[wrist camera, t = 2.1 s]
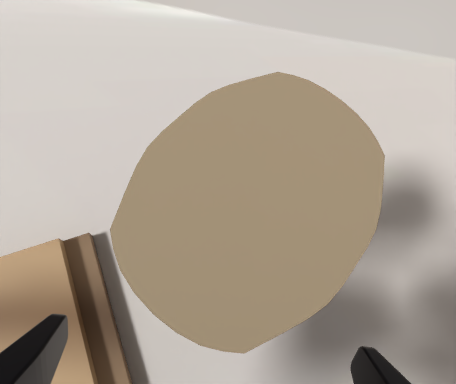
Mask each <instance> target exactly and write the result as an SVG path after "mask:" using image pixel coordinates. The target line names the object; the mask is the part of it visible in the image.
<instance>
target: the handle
mask: <svg viewBox="0 0 456 384" xmlns="http://www.w3.org/2000/svg"><path fill="white" fill-rule="evenodd" d="M384 159H385V155H384V153H383V151H382V149H381V147H380V145H379V143H378V141H377V139H376V138H375V136H374V134H373V133H372V131H371V130H370V128H369V127H368V126H367V125H366V123H365V122H364V121H363V120H362V119H361V118H360V117H359V116H358V114H357V113H355V112H354V111H353V110H352V109H351V108H350V107H349V106H347V105H346V104H345V103H344V102H343V101H342V100H340V99H339V98H338V97H336V96H335V95H333V94H332V93H330V92H329V91H327V90H326V89H324V88H322V87H320V86H319V85H317V84H315V83H313V82H311V81H309V80H306V79H303V78H300V77H297V76H294V75H290V74H285V73H280V72H276V73H272V74H268V75H264V76H260V77H256V78H252V79H248V80H245V81H241V82H238V83H234V84H231V85H228V86H225V87H223V88H220V89H218V90H215V91H213V92H211V93H209V94H208V95H206V96H205V97H203V98H202V99H200V100H199V101H197V102H196V103H195V104H193V105H192V106H191V107H190V108H189V109H188V110H186V111H185V112H184V113H183V114H182V115H181V116H179V117H178V118H177V119H176V120H175V121H174V122H172V123H171V124H170V125H169V126H168V127H167V128H165V129H164V130H163V131H162V132H161V133H160V134H159V135H158V136H157V137H156V139H155V140H154V141H153V142H152V143H151V144H150V145H149V146H148V147H147V149H146V150H145V152H144V154H143V156H142V157H141V159H140V161H139V162H138V164H137V166H136V168H135V170H134V172H133V175H132V177H131V179H130V182H129V184H128V186H127V189H126V191H125V193H124V196H123V198H122V201H121V203H120V206H119V208H118V211H117V213H116V216H115V218H114V221H113V223H112V226H111V228H110V232H111V238H112V244H113V250H114V253H115V256H116V259H117V262H118V265H119V268H120V271H121V272H122V274H123V276H124V277H125V279H126V280H127V282H128V284H129V285H130V287H131V289H132V290H133V292H134V293H135V294H136V295H137V297H138V298H139V299H140V300H141V301H142V302H143V303H144V304H145V306H146V307H147V308H148V309H149V310H150V311H151V312H152V313H153V314H154V315H155V316H156V317H157V318H159V319H160V320H161V321H162V322H164V323H165V324H166V325H167V326H169V327H170V328H171V329H172V330H174V331H175V332H176V333H178V334H180V335H182V336H184V337H185V338H187V339H189V340H191V341H193V342H195V343H197V344H198V345H200V346H204V347H208V348H212V349H216V350H220V351H225V352H234V353H246V352H248V351H250V350H252V349H254V348H255V347H257V346H259V345H261V344H263V343H265V342H267V341H269V340H271V339H273V338H275V337H276V336H278V335H280V334H282V333H284V332H286V331H287V330H289V329H291V328H293V327H295V326H296V325H298V324H300V323H302V322H303V321H305V320H307V319H309V318H310V317H311V316H313V315H314V314H315V313H317V312H318V311H319V310H321V309H322V308H323V307H325V306H326V305H327V304H328V303H329V302H330V301H331V300H332V298H333V297H334V296H335V295H336V293H337V292H338V291H339V290H340V289H341V287H342V286H343V285H344V283H345V282H346V280H347V279H348V277H349V275H350V274H351V272H352V271H353V269H354V268H355V266H356V264H357V263H358V261H359V260H360V258H361V257H362V255H363V253H364V252H365V250H366V249H367V247H368V245H369V243H370V241H371V239H372V237H373V235H374V233H375V231H376V228H377V224H378V220H379V215H380V210H381V202H382V191H383V177H384Z"/></svg>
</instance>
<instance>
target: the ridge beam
mask: <svg viewBox="0 0 456 384" xmlns="http://www.w3.org/2000/svg"><path fill="white" fill-rule="evenodd" d="M51 314H64V315H66V316H67V318H68V339H67V343H66V346H65V348H64V351H63V353H62V356H61V359H60V361H59V364H58V366H57V369H56V372H55V374H54V377H53V379H52V382H51V384H132V381H131V377H130V373H129V370H128V366H127V362H126V359H125V355H124V351H123V348H122V344H121V340H120V337H119V333H118V329H117V326H116V322H115V318H114V315H113V311H112V307H111V304H110V300H109V296H108V293H107V289H106V285H105V282H104V278H103V274H102V271H101V267H100V263H99V260H98V256H97V252H96V249H95V245H94V241H93V238H92V235H91V234H90V233H87V234H84V235H81V236H77V237H74V238H71V239H68V240H65V241H62V240H60V239H55V240H52V241H49V242H46V243H43V244H40V245H37V246H34V247H30V248H27V249H24V250H21V251H18V252H15V253H12V254H9V255H6V256H2V257H0V352H2V351H3V350H4V349H6V348H7V347H8V346H10V345H11V344H12V343H13V342H15V341H16V340H17V339H19V338H20V337H21V336H23V335H24V334H25V333H27V332H28V331H29V330H31V329H32V328H33V327H34V326H36V325H37V324H38V323H40V322H41V321H42V320H44V319H45V318H46V317H48V316H49V315H51Z"/></svg>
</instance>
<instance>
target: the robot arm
mask: <svg viewBox="0 0 456 384" xmlns="http://www.w3.org/2000/svg"><path fill="white" fill-rule="evenodd" d="M67 339H68V318H67V316H66V315H64V314H51V315H49V316H48V317H46V318H45V319H44V320H42V321H41V322H40V323H38V324H37V325H36V326H34V327H33V328H32V329H31V330H29V331H28V332H27V333H25V334H24V335H23V336H21V337H20V338H19V339H17V340H16V341H15V342H13V343H12V344H11V345H10V346H8V347H7V348H6V349H4V350H3V351H2V352H0V384H51V382H52V379H53V377H54V374H55V372H56V369H57V366H58V364H59V361H60V359H61V356H62V353H63V351H64V348H65V346H66V343H67ZM351 374H352V378H353V382H354V384H411V383H410V382H409V381H408V380H407V379H406V378H405V377H404V376H403V375H402V374H401V373H400V372H399V371H398V370H397V369H395V368H394V367H393V366H392V365H391V364H390V363H389V362H388V361H387V360H386V359H385V358H384V357H383V356H382V355H381V354H380V353H379V352H378V351H377V350H376V349H374V348H372V347H365V346H361V347H360V348H359V349H358V351H357V352H356V354H355V356H354V358H353V360H352V362H351Z"/></svg>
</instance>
